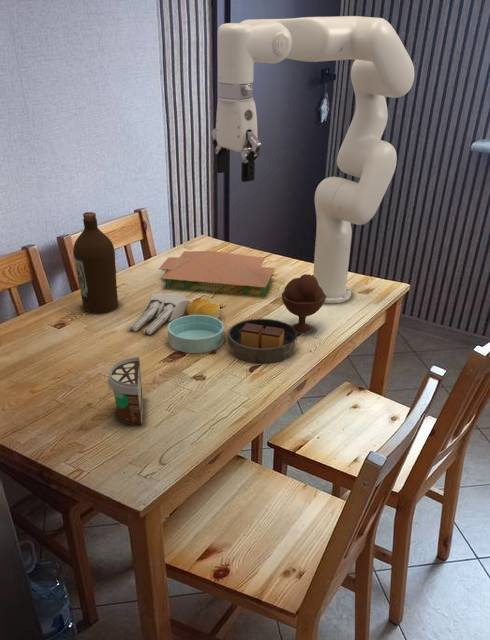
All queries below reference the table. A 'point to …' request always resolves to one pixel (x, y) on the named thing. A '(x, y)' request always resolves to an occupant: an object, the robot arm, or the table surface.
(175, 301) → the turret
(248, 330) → the snack cake
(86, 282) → the olive oil
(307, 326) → the ice cream bowl
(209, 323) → the blue bowl
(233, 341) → the charcoal bowl
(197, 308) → the bread roll
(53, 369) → the table surface
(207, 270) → the house
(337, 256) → the robot arm
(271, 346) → the snack cake
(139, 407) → the food container
